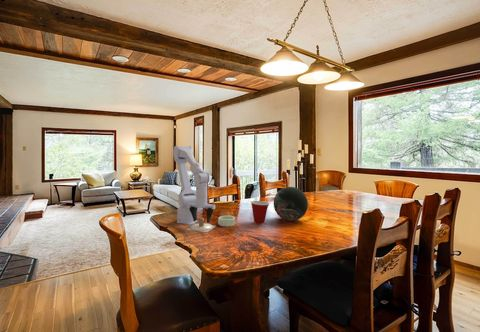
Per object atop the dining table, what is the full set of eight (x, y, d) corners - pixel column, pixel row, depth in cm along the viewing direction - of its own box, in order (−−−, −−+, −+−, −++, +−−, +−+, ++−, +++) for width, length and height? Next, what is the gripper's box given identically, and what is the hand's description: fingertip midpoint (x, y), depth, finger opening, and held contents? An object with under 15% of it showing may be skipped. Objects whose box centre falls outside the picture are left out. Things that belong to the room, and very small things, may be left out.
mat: (185, 230, 135) (185, 229, 135) (196, 224, 146) (196, 223, 146) (207, 233, 131) (207, 232, 131) (216, 226, 143) (216, 225, 143)
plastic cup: (271, 224, 148) (272, 203, 147) (253, 225, 145) (253, 204, 145) (265, 219, 158) (265, 199, 158) (248, 220, 156) (248, 200, 155)
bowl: (216, 226, 143) (216, 218, 143) (222, 222, 152) (222, 215, 152) (231, 227, 140) (231, 220, 140) (237, 223, 149) (237, 216, 149)
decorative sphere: (297, 215, 170) (298, 184, 169) (314, 223, 151) (315, 188, 149) (268, 217, 164) (268, 185, 163) (281, 226, 145) (282, 189, 144)
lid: (187, 229, 135) (186, 220, 135) (196, 223, 146) (196, 215, 145) (206, 231, 132) (206, 222, 131) (215, 225, 142) (215, 217, 142)
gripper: (185, 196, 136) (185, 222, 137) (211, 197, 132) (211, 224, 132) (191, 194, 143) (191, 219, 143) (216, 195, 138) (216, 221, 139)
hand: (201, 221), depth 138 cm, fingers open, 7 cm apart
